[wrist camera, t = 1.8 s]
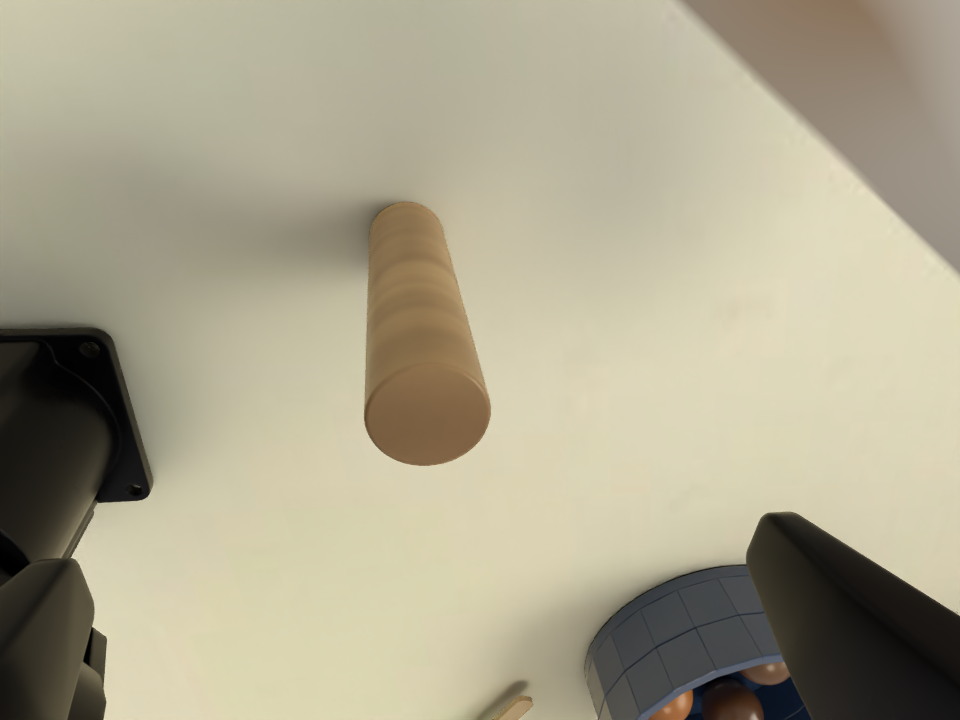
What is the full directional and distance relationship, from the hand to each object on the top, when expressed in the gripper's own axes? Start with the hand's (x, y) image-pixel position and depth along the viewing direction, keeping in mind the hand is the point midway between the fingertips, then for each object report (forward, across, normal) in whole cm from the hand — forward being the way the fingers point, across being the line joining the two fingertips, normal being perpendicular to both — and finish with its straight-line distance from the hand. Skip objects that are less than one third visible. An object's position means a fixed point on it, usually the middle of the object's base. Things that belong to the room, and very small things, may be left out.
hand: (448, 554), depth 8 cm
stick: (+12, 0, 0) cm, 12 cm away
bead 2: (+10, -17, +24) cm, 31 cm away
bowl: (+12, -15, +22) cm, 29 cm away
